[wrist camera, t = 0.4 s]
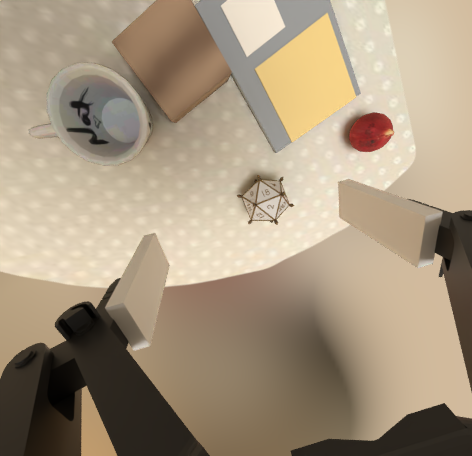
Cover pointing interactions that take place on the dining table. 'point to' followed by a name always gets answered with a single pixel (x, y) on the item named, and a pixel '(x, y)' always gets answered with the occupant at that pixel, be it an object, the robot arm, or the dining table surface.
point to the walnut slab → (173, 56)
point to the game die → (265, 200)
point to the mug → (96, 114)
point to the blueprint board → (283, 61)
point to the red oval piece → (371, 132)
